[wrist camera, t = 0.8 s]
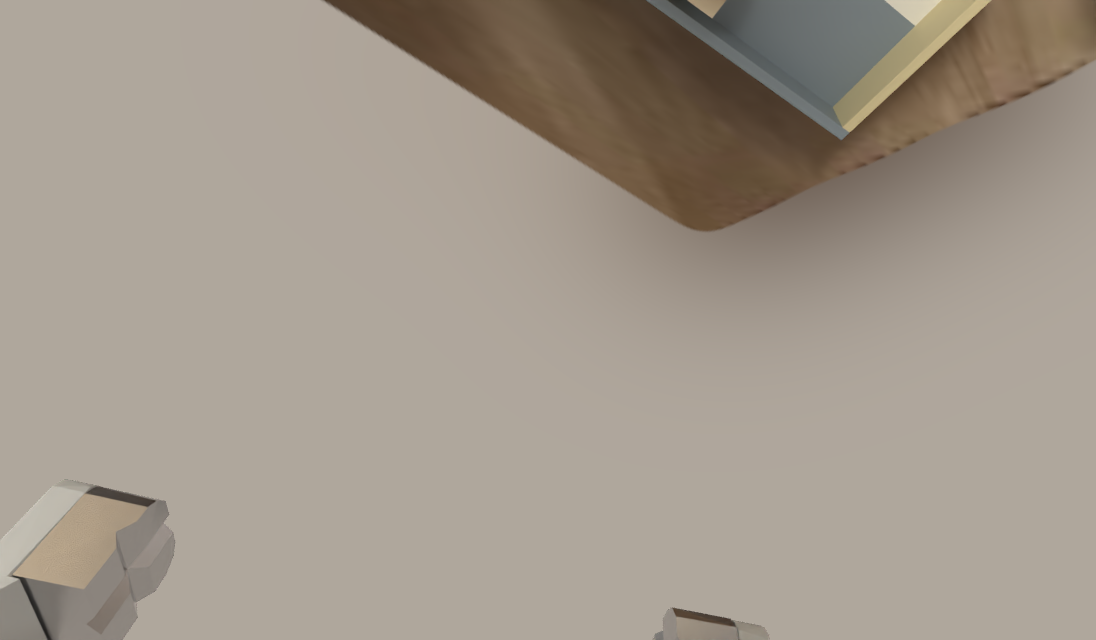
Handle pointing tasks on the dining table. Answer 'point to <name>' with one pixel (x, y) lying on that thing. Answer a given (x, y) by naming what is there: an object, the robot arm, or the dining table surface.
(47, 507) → the robot arm
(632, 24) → the dining table surface
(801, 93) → the box
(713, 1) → the block
